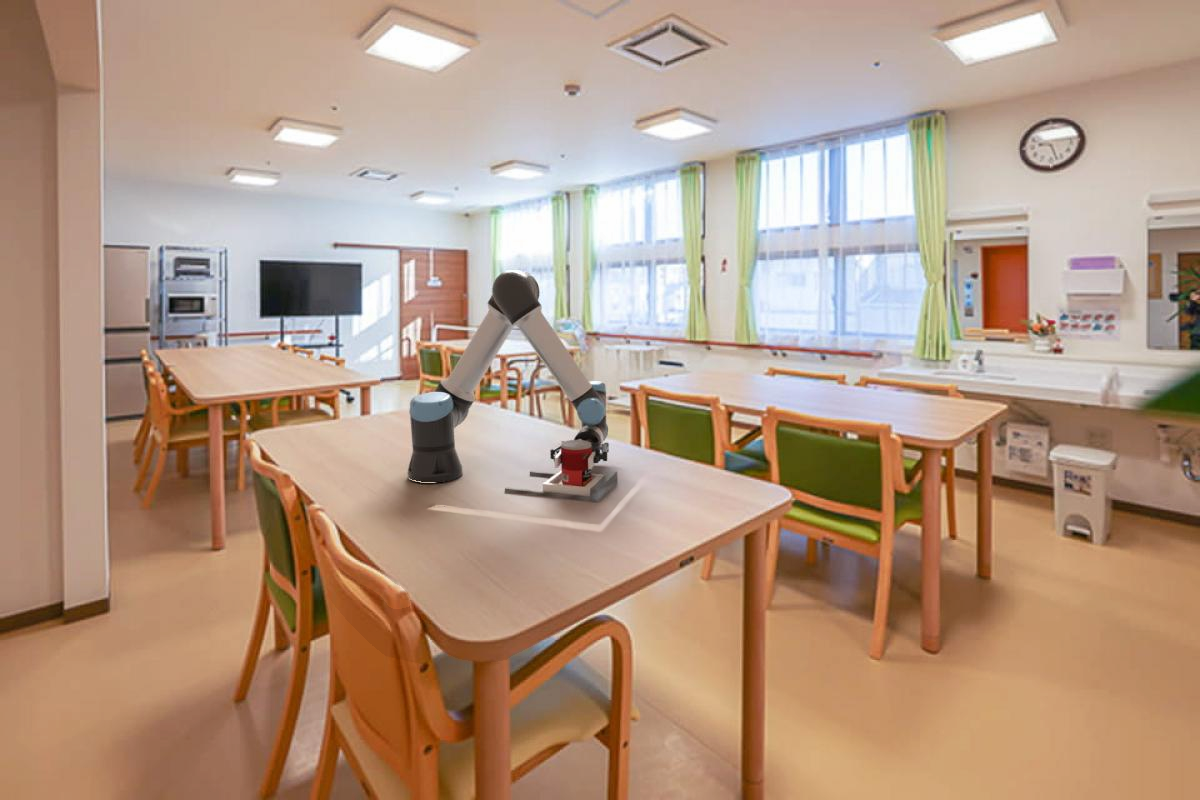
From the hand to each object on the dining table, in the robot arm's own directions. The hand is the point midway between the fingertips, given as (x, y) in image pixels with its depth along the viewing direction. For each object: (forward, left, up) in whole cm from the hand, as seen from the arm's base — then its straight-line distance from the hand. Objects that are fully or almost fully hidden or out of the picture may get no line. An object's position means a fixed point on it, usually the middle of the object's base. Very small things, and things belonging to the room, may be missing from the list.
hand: (572, 463), depth 153 cm
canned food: (-1, +5, -7) cm, 9 cm away
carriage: (-2, +5, -8) cm, 10 cm away
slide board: (-4, +5, -9) cm, 11 cm away
